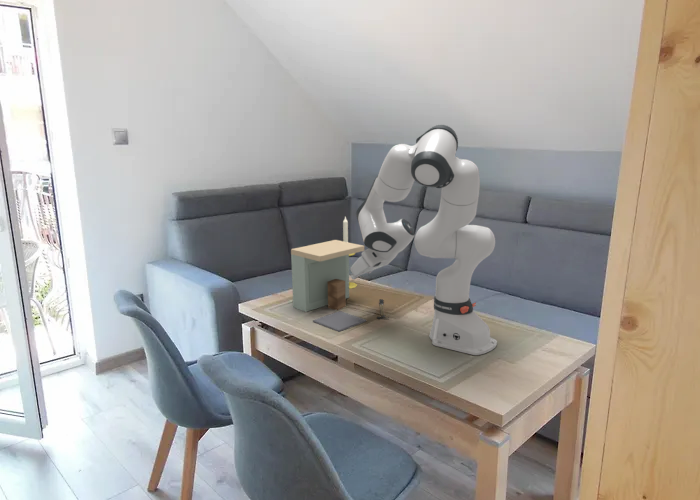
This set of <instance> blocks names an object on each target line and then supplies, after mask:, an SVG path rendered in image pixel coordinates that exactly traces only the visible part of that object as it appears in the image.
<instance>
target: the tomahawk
mask: <svg viewBox="0 0 700 500" xmlns="http://www.w3.org/2000/svg"><path fill="white" fill-rule="evenodd" d="M384 302H385V300H384V299H382V298H380V299H379V302H378V304H379V311H380V312H379V313H380V316H377V317H376V319H377V320H388V319H390V317H389V316H386V315H385V310H384Z"/></svg>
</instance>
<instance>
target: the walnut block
mask: <svg viewBox="0 0 700 500" xmlns="http://www.w3.org/2000/svg"><path fill="white" fill-rule="evenodd" d="M346 300H347V298H346V299H345V281H344V280H339V279H333V280H331V281H328V305H327V308H328V309H331V310H334V311H341V310H343V309H344V308H346V305H347V303H346Z"/></svg>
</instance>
